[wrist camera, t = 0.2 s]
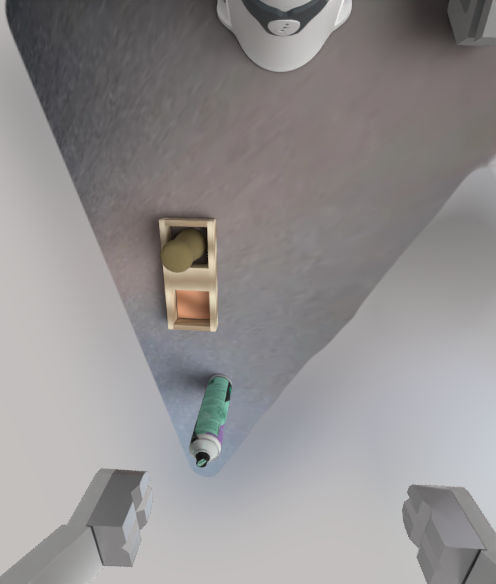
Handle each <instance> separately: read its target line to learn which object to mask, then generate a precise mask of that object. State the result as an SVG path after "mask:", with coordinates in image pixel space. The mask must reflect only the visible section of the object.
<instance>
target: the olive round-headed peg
mask: <svg viewBox="0 0 496 584" xmlns="http://www.w3.org/2000/svg"><path fill="white" fill-rule="evenodd" d="M206 250H207V240H206V238H205V236H204V234H203V233H201V232H200V231H199V230H197V229H195V228H186V229H184V230H182V231H180V233H179V234H178V235H177V236H176V238H175V239H174V240H172V241H169V242H168V243H166V244H165V245H164V246H163V247H162V250H161V252H160V259H161V262H162V264H163V266H164V267H165V268H166V269H167V270H169V271H171V272H175V273H179V272H184V271H186V270H187V269H188V268H189V267H190V266H191V265H192V263H193V261H194V260H196V259H198V258H200V257H202V256H203V255H204V254H205V252H206Z"/></svg>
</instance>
